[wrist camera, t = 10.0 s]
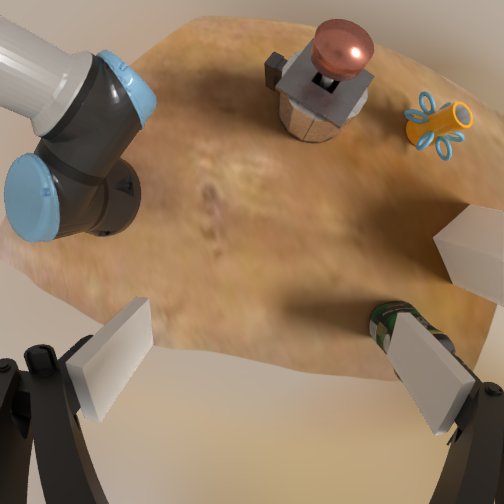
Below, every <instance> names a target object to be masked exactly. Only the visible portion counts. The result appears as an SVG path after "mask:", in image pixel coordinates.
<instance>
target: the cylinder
mask: <svg viewBox="0 0 504 504" xmlns="http://www.w3.org/2000/svg"><path fill="white" fill-rule="evenodd" d="M424 96H426V97H428V99H429V101H430V103H431V110H430V111H428V110H427V109H426V108H425V106H424V103H423V97H424ZM419 104H420V107H421V109H422V110H423V112H421V111H418V110H413V109H409V110H406V111H405V112H404V115H405V117H406V118H407V119H409V120H408V122H407V124H406V134H407V137H408V139H409V140H410V141H411V143H412V144H414V145H415V146H416V149H417V150H423V149H424V148H426V147H428V146H431V145H435V146H436V150H437V153H438V155H439V156H440V157H441V158H442V159H443V160H445V161H447V160H449V159H450V158H451V155H452V149H451V146H450V143H449V141H448V140H447V139H449V140H451V141H455V142H462V141H463V140H464V136H463V134H462V133H460V132H459V131H460V130H463V129H466V128H469V127H471V125H472V123H473V116H472V113H471V111H470V109H469V108H468V106H467V105H465V104H464V103H462V102H456V103H454V104H452V103H450V102H449V103H446V104H445V105H443V106H442V107H441V108H440V110H439V111H437V112H435V102H434V99H433V98H432V96H431V95H430V94H429V93H428V92H421V93H420V95H419ZM434 112H435V113H434ZM409 114H415V115H416V116H414V117H412V116H410V115H409ZM450 133H451V134H455V135H457V136H459V138H457V137H452V136H450V135H448V134H450ZM443 136H444V137H443ZM446 138H447V139H446ZM441 140H442V141H443V142H444V143H445V144H446V147H447V151H448V153H447V156H444V155H443V154H442V152H441V150H440V146H439V143H440V141H441Z"/></svg>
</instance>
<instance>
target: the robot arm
mask: <svg viewBox="0 0 504 504" xmlns="http://www.w3.org/2000/svg"><path fill="white" fill-rule="evenodd" d="M156 103H157V100H156V96H155V94H154V92H153V91H152V90H151V88H150V87H149V86H148V85H147V83H146V82H145V81H144V80H143V79H142V78H141V77H140V76H139V75H138V74H137V73H136V72H135V71H134V70H133V69H132V68H131V67H129V66H127V65H126V63H124V62H123V61H122V60H121V59H120V58H119V57H117V56H116V55H115V54H113V53H112V52H110V51H108V50H103V51H101V52H100V53H98V54H97V55H96V56H95V55H93V54H92V53H90V52H89V51H82V52H79V53H75V54H72V55H69V54H68V53H66V52H64V51H63V50H61V49H59V48H58V47H56V46H54V45H53V44H51V43H49V42H48V41H46V40H44V39H43V38H41V37H39V36H37V35H36V34H34V33H32V32H30V31H29V30H27V29H25V28H23V27H21V26H19V25H17V24H16V23H14V22H12V21H10V20H8V19H6V18H5V17H2V16H1V15H0V106H1V107H4V108H6V109H8V110H11V111H13V112H16V113H18V114H20V115H23V116H25V117H27V118H30V120H31V122H32V127H33V130H34V133H35V135H37V136H39V137H41V140H40V142H39V144H38V146H37V147H36V149H35V151H34V153H26V154H24V155H22V156H21V157H20V158H17V159H16V160H15V161H14V162H13V163H12V165H11V167H10V169H9V171H8V174H7V177H6V181H5V187H4V202H5V208H6V214H7V217H8V220H9V222H10V224H11V226H12V228H13V230H14V231H15V232H16V234H17V235H18V236H19V237H21V238H22V239H23V240H25V241H28V242H40V241H44V242H46V241H47V242H48V241H51V240H54V239H57V238H61V237H65V236H69V235H73V234H77V233H81V232H86V233H89V234H92V235H95V236H100V237H106V236H111V235H115V234H118V233H120V232H122V231H123V230H125V229H126V228H127V227H128V226H129V225H130V224H131V223H132V221H133V220H134V218H135V216H136V214H137V212H138V209H139V206H140V200H141V187H140V182H139V179H138V176H137V174H136V172H135V170H134V169H133V167H132V166H131V165H130V164H129V163H128V162H126V161H125V160H123V159H121V158H120V156H121V155H122V154H123V152H124V151H125V149H126V148H127V147H128V145H129V144H130V142H131V141H132V140H133V138H134V137H135V136H136V134H137V133H138V132H139V130H142V129H143V127H144V124H145V122H146V121H147V120H148V118H149V117H150V115H151V114H152V113H153V111H154V110H155V108H156ZM152 345H153V336H152V326H151V314H150V301H149V298H143V297H135V298H134V299H133V300H132V301H131V302H130V303H129V304H128V305H126V306H125V307H124V308H123V309H122V310H121V311H120V312H119V313H118V314H117V315H115V316H114V317H113V318H112V319H111V320H110V321H109V322H108V323H107V324H106V325H105V326H104V327H102V328H101V329H100V330H99V331H98V332H97V333H96V334H95V335H88V336H86V337H84V338H82V339H80V340H79V341H78V342H77V343H76V344H75V346H73V347H71V348H70V350H68V351H67V352H66V353H65V354H64V355H63V356H62V357H61V358H60V359H58V360H57V357H56V354H55V351H54V349H53V347H51V346H49V345H44V344H42V345H35V346H32V347H30V348H28V349H27V350H26V351H25V353H24V358H25V361H26V364H27V367H28V370H29V372H28V371H21V370H19V369H18V366H17V364H16V362H15V361H14V360H13V359H9V358H6V359H4V358H3V359H0V504H27V487H28V486H27V485H28V474H29V465H30V456H31V450H32V443H33V438H34V446H35V452H36V459H37V465H38V470H39V475H40V480H41V485H42V489H43V493H44V497H45V501H46V504H109V503H108V501H107V499H106V496H105V494H104V492H103V489H102V487H101V485H100V482H99V480H98V478H97V475H96V472H95V469H94V467H93V464H92V461H91V458H90V456H89V453H88V450H87V447H86V444H85V440H84V437H83V434H82V430H81V427H80V423H79V420H78V417H77V415H76V413H77V411H78V410H79V409H80V408H81V410H82V412H83V415H84V418H87V419H90V420H92V421H96V422H98V423H101V421H102V420H103V418H104V417H105V415H106V414H107V412H108V411H109V409H110V408H111V406H112V405H113V403H114V402H115V400H116V399H117V397H118V395H119V394H120V392H121V391H122V389H123V388H124V386H125V385H126V383H127V382H128V380H129V379H130V377H131V376H132V374H133V373H134V371H135V370H136V368H137V367H138V366H139V364H140V362H141V361H142V360H143V358H144V357H145V355H146V354H147V352H148V351H149V349H150V348H151V346H152ZM386 357H387V358H388V360H389V361H390V363H391V364H392V366H393V368H394V369H395V371H396V372H397V374H398V375H399V377H400V379H401V380H402V382H403V383H404V385H405V387H406V388H407V390H408V391H409V393H410V395H411V397H412V398H413V400H414V401H415V403H416V405H417V406H418V408H419V410H420V412H421V413H422V415H423V416H424V418H425V420H426V422H427V423H428V425H429V427H430V429H431V430H432V432H433V434H434V435H438V434H442V433H446V432H448V431H449V429H450V428H451V426H452V424H453V423H454V421H455V423H456V424H457V426H458V427H457V429H456V430H455V432H454V434H453V435H452V437H451V438H450V440H449V441H448V443H447V445H449V443H450V442H451V446H450V449H449V452H448V455H447V458H446V461H445V465H444V467H443V470H442V473H441V476H440V478H439V481H438V483H437V486H436V488H435V491H434V493H433V496H432V498H431V500H430V503H429V504H494V499H495V504H504V391H503V389H502V388H501V387H500V386H499V385H497V384H495V383H492V382H484V383H482V382H481V381H480V379H479V378H478V377H477V376H476V375H475V374H474V373H473V372H472V371H471V370H470V369H468V367H467V366H466V365H465V364H464V362H463V361H462V360H461V359H460V358H459V357H457V356H455V355H454V354H452V353H450V352H449V351H448V350H447V349H446V348H445V347H444V346H443V345H442V344H441V343H440V342H439V341H438V340H437V339H436V338H435V337H434V336H433V335H432V334H431V333H430V332H429V331H428V330H427V329H426V328H425V327H424V326H423V325H422V324H421V323H420V322H419V321H418V320H417V319H416V318H415V317H414V316H413V315H412V314H411V313H398V315H397V319H396V323H395V327H394V331H393V334H392V338H391V342H390V345H389V349H388V352H387V355H386Z"/></svg>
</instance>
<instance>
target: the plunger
mask: <svg viewBox="0 0 504 504" xmlns="http://www.w3.org/2000/svg"><path fill="white" fill-rule="evenodd" d="M373 53H374V44H373V41H372V39H371V37H370V36H369V34H368V33H367V32H366V31H365V30H364V29H363V28H361V27H360V26H359V25H357V24H355V23H353V22H350V21H347V20H343V19H332V20H328V21H325V22H323V23H322V24H321V25H320V26H319V27H318V28H317V30H316V33H315V37H314V41H313V45H312V49H311V53H310V56H311V61H312V64H313V65H314V67H315V68H316V69H317V70H318V72H320V73H321V74H322V75H323V76H322V78H321V81H320V83H319V85H318V86H320V87H321V88H323V89H324V90H326V91H328V89H329V87H330V86H331V84H332V82H333V80H336V81H349V80H352V79H354V78H356V77H357V76H358V75H359V74H360V73H361V71H362V70H363V68H364V67H365V66H366V64H367V63H368V62H369V60H370V59H371V57H372V56H373Z"/></svg>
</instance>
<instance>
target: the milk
mask: <svg viewBox="0 0 504 504" xmlns="http://www.w3.org/2000/svg"><path fill="white" fill-rule="evenodd" d="M433 240H434V242H435V244H436V246H437V248H438V250H439V253H440V255H441V257H442V259H443V262H444V264H445V266H446V269H447V271H448V274H449V276H450V279H451V281H452V284H453V285H456V286H458V287H460V288H463V289H465V290H467V291H470V292H472V293H474V294H476V295H479V296H481V297H483V298H485V299H488V300H490V301H492V302H494V303H497V304H499V305H501V306H503V307H504V211H502V210H497V209H492V208H487V207H482V206H477V205H471V204H470V205H469V206H468V207H467V208H466V209H465V210H463V211H462V212H461V213H460V214H459V215H458V216H457V217H456V218H455V219H454V220H452V221H451V222H450V223H449V224H448V225H447V226H446V227H444V228H443V229H442V230H441V231H440V232H439V233H437V234H436V235H435V236H434V237H433Z"/></svg>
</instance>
